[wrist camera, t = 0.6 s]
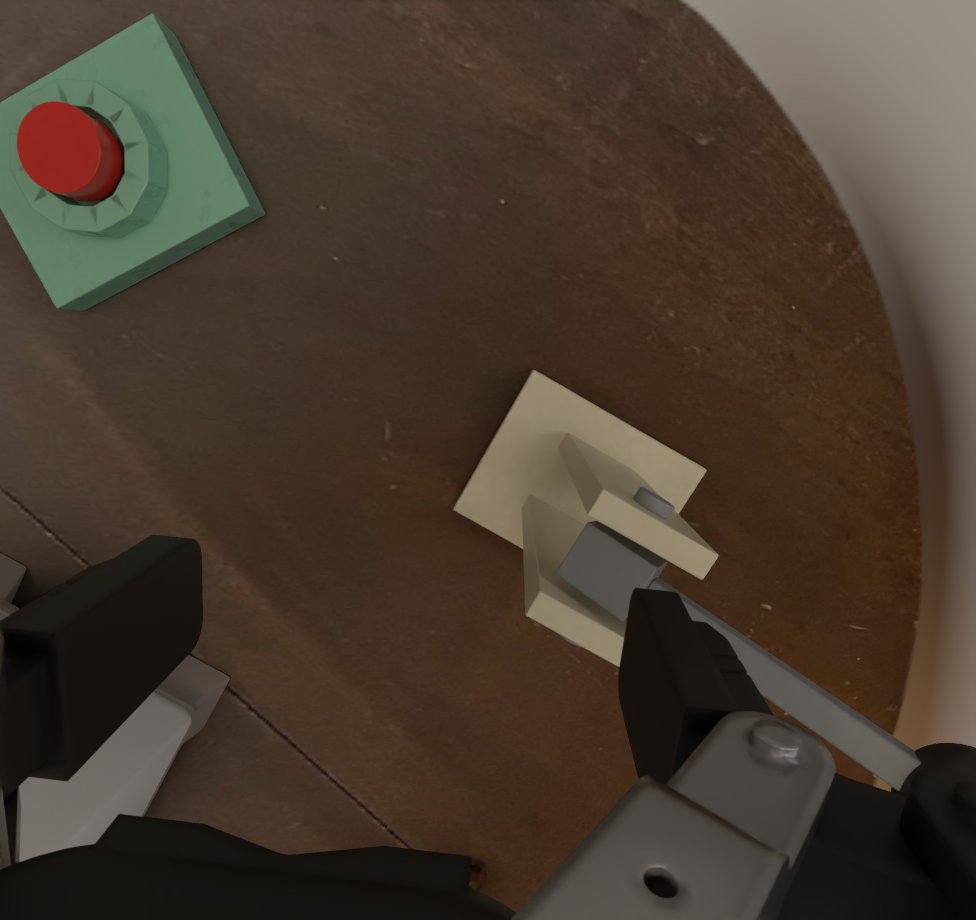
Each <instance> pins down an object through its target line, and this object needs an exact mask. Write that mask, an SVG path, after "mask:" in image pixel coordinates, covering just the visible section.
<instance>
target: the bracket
mask: <svg viewBox="0 0 976 920" xmlns="http://www.w3.org/2000/svg"><path fill="white" fill-rule="evenodd" d="M706 471H707V470H706V469H705V468H703V467H702V466H700V465H698V464H697V463H695V462H693V461H691V460H690V459H688V458H686V457H685V456H683V455H681V454H679V453H678V452H676V451H674V450H672V449H671V448H669V447H667V446H665V445H664V444H662V443H660V442H659V441H657V440H655V439H653V438H652V437H650V436H648V435H646V434H645V433H643V432H641V431H640V430H638V429H636V428H634V427H633V426H631V425H629V424H627V423H626V422H624V421H622V420H621V419H619V418H617V417H615V416H614V415H612V414H610V413H608V412H607V411H605V410H603V409H601V408H600V407H598V406H596V405H595V404H593V403H591V402H589V401H588V400H586V399H584V398H582V397H581V396H579V395H577V394H576V393H574V392H572V391H570V390H569V389H567V388H565V387H563V386H562V385H560V384H558V383H557V382H555V381H553V380H551V379H550V378H548V377H546V376H544V375H543V374H541V373H539V372H537V371H536V370H534V369H533V370H532V371H531V373H530V375H529V377H528V378H527V380H526V382H525V383H524V385H523V387H522V389H521V390H520V392H519V394H518V396H517V397H516V399H515V401H514V403H513V404H512V406H511V408H510V410H509V411H508V413H507V415H506V416H505V418H504V420H503V422H502V423H501V425H500V427H499V429H498V430H497V432H496V434H495V436H494V437H493V439H492V441H491V442H490V444H489V446H488V448H487V449H486V451H485V453H484V455H483V456H482V458H481V460H480V462H479V463H478V465H477V467H476V469H475V470H474V472H473V474H472V475H471V477H470V479H469V481H468V482H467V484H466V486H465V488H464V489H463V491H462V493H461V495H460V496H459V498H458V500H457V501H456V503H455V506H454V508H453V510H454V511H456V512H458V513H460V514H462V515H463V516H465V517H467V518H469V519H470V520H472V521H474V522H476V523H478V524H479V525H481V526H483V527H485V528H486V529H488V530H490V531H492V532H494V533H495V534H497V535H499V536H501V537H502V538H504V539H506V540H508V541H510V542H511V543H513V544H515V545H517V546H519V547H520V548H522V549H523V559H524V588H525V614H526V616H528V617H530V618H532V619H533V620H535V621H537V622H539V623H541V624H542V625H544V626H546V627H548V628H550V629H551V630H553V631H555V632H557V633H558V634H559V635H560V636H561V637H563V638H564V639H565V640H567V641H568V642H570V643H571V644H573V645H576V646H578V647H584V648H586V649H587V650H589V651H591V652H593V653H595V654H596V655H598V656H600V657H602V658H604V659H605V660H607V661H609V662H611V663H613V664H614V665H616V666H618V667H620V660H621V654H622V648H623V642H624V635H625V629H626V623H627V618H626V619H625V620H624V621H621V620H619V619H618V618H616V617H615V616H614V615H612V614H611V613H610V612H608V611H607V610H605V609H604V608H603V607H601V606H600V605H599V604H597V603H596V602H594V601H593V600H592V599H590V598H589V597H587V596H586V595H585V594H583V593H582V592H581V591H579V590H578V589H576V588H575V587H574V586H572V585H571V584H570V583H568V582H567V581H565V580H564V579H563V578H561V577H560V576H558V575H557V573H556V572H557V570H558V568H559V567H560V565H561V564H562V562H563V560H564V559H565V557H566V556H567V554H568V552H569V551H570V549H571V548H572V546H573V544H574V543H575V541H576V539H577V538H578V536H579V535H580V533H581V531H582V530H583V528H584V527H585V525H586V523H587V522H592V521H599V522H601V523H602V524H604V525H606V526H608V527H609V528H611V529H613V530H615V531H616V532H618V533H620V534H622V535H623V536H625V537H627V538H629V539H631V540H632V541H634V542H636V543H638V544H639V545H641V546H643V547H645V548H646V549H648V550H650V551H652V552H653V553H655V554H657V555H659V556H660V557H662V558H664V559H666V560H667V561H669V562H671V563H673V564H675V565H676V566H678V567H680V568H682V569H683V570H685V571H687V572H689V573H690V574H692V575H694V576H696V577H697V578H699V579H701V580H703V579H704V577H705V576H706V574H707V573H708V571H709V570H710V568H711V567H712V565H713V564H714V562H715V561H716V559H717V558H718V556H719V555H718V554H717V553H716V552H715V551H714V550H713V549H712V548H711V547H710V546H709V545H708V544H707V543H706V542H705V541H704V540H703V539H702V538H701V537H700V536H699V535H698V534H697V533H696V532H695V531H694V530H693V529H692V528H691V527H690V526H689V525H688V524H687V523H686V522H685V521H684V520H683V519H682V518H681V517H680V515H679V513H680V511H681V509H682V508H683V506H684V505H685V503H686V502H687V500H688V499H689V497H690V496H691V494H692V493H693V491H694V489H695V488H696V486H697V485H698V483H699V482H700V480H701V479H702V477H703V476H704V474H705V473H706Z"/></svg>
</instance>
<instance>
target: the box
mask: <svg viewBox="0 0 976 920" xmlns="http://www.w3.org/2000/svg"><path fill="white" fill-rule="evenodd" d="M51 101H58V102H64V103H68V104H70V105H73V106H75V107H76V108H78V109H80V110H82V111H84V112H85V113H87V114H89V115H91V116H93V117H95V118H96V119H98V120H100V121H101V122H103V123H104V124H105V125H107V126H108V127H109V129H110V130H111V131H112V132H113V133H114V135H115V136H116V138H117V140H118V142H119V144H120V147H121V150H122V155H123V169H122V174H121V177H120V180H119V182H118V184H117V185H116V187H115V188H114V189H113V191H112V192H110V193H109V194H108V195H107V196H105V197H103V198H101V199H99V200H95V201H78V200H75V199H72V198H69V197H66V196H63V195H60V194H57V193H54V192H51V191H49V190H46V189H44V188H43V187H41V186H39V185H38V184H37V183H35V182H34V181H33V180H32V179H31V178H30V176H29V175H28V174H27V173H26V171H25V169H24V168H23V166H22V164H21V161H20V159H19V155H18V151H17V134H18V130H19V127H20V124H21V122H22V120H23V118H24V117H25V116H26V114H27V113H28V112H29V111H30V110H31V109H33V108H34V107H36V106H37V105H39V104H42V103H45V102H51ZM0 209H1V211H2V212H3V214H4V216H5V218H6V219H7V221H8V223H9V225H10V227H11V228H12V230H13V232H14V234H15V235H16V237H17V239H18V241H19V243H20V244H21V246H22V248H23V250H24V251H25V253H26V255H27V257H28V259H29V260H30V262H31V264H32V266H33V267H34V269H35V271H36V273H37V275H38V276H39V278H40V280H41V282H42V283H43V285H44V287H45V289H46V291H47V292H48V294H49V296H50V298H51V300H52V301H53V303H54V305H55V307H56V308H57V309H66V310H77V311H85V310H87V309H89V308H91V307H92V306H94V305H96V304H98V303H100V302H102V301H104V300H106V299H108V298H109V297H111V296H113V295H115V294H117V293H119V292H121V291H123V290H124V289H126V288H128V287H130V286H132V285H134V284H136V283H138V282H139V281H141V280H143V279H145V278H147V277H149V276H151V275H153V274H155V273H156V272H158V271H160V270H162V269H164V268H166V267H168V266H170V265H171V264H173V263H175V262H177V261H179V260H181V259H183V258H185V257H186V256H188V255H190V254H192V253H194V252H196V251H198V250H200V249H202V248H203V247H205V246H207V245H209V244H211V243H213V242H215V241H217V240H218V239H220V238H222V237H224V236H226V235H228V234H230V233H232V232H234V231H235V230H237V229H239V228H241V227H243V226H245V225H247V224H249V223H250V222H252V221H254V220H256V219H258V218H260V217H262V216H264V215H265V212H264V210H263V208H262V206H261V204H260V202H259V200H258V198H257V196H256V194H255V192H254V190H253V188H252V186H251V184H250V182H249V180H248V178H247V176H246V174H245V172H244V170H243V168H242V166H241V164H240V162H239V160H238V158H237V156H236V154H235V152H234V150H233V148H232V146H231V144H230V142H229V140H228V138H227V136H226V134H225V132H224V130H223V128H222V126H221V124H220V122H219V120H218V118H217V116H216V114H215V112H214V110H213V108H212V106H211V104H210V102H209V100H208V98H207V96H206V94H205V92H204V90H203V88H202V86H201V84H200V82H199V80H198V78H197V76H196V74H195V72H194V70H193V68H192V66H191V64H190V63H189V61H188V59H187V57H186V55H185V53H184V51H183V49H182V47H181V45H180V43H179V41H178V39H177V37H176V35H175V34H174V33H173V32H172V31H171V30H170V29H169V28H167V27H166V26H165V25H164V24H163V23H162V22H161V21H160V20H159V19H158V18H157V17H156V16H154V15H153V14H150V15H149V16H147V17H145V18H144V19H142V20H140V21H138V22H137V23H135V24H133V25H132V26H130V27H128V28H127V29H125V30H123V31H121V32H120V33H118V34H116V35H115V36H113V37H111V38H109V39H108V40H106V41H104V42H103V43H101V44H99V45H98V46H96V47H94V48H92V49H91V50H89V51H87V52H86V53H84V54H82V55H80V56H79V57H77V58H75V59H74V60H72V61H70V62H69V63H67V64H65V65H63V66H62V67H60V68H58V69H57V70H55V71H53V72H51V73H50V74H48V75H46V76H45V77H43V78H41V79H40V80H38V81H36V82H34V83H33V84H31V85H29V86H28V87H26V88H24V89H23V90H21V91H19V92H17V93H16V94H14V95H12V96H11V97H9V98H7V99H5V100H4V101H2V102H0Z"/></svg>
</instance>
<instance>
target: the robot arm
mask: <svg viewBox="0 0 976 920" xmlns="http://www.w3.org/2000/svg"><path fill="white" fill-rule="evenodd" d="M202 622H203V600H202V555H201V548H200V545H199V543H198V542H197V541H196V540H195V539H188V538H178V537H169V536H160V535H151V536H149V537H148V538H146V539H144V540H143V541H141V542H140V543H138V544H136V545H135V546H133V547H131V548H130V549H128V550H127V551H125V552H123V553H122V554H120V555H119V556H117V557H115V558H114V559H112V560H109V561H106V562H103V563H100V564H97V565H94V566H91V567H88V568H87V569H85V570H83V571H82V572H80V573H78V574H77V575H75V576H73V577H72V578H70V579H68V580H67V581H66V583H65V584H60V585H59V586H57V587H55V588H54V589H52V590H50V591H49V592H47V595H46V596H45V595H42V596H40V597H39V598H37V599H35V600H34V601H32V602H30V603H29V604H27V605H25V606H24V607H22V608H21V609H19V610H17V611H16V612H14V613H12V614H11V615H9V616H7V617H6V618H4V619H2V620H1V621H0V920H976V777H975V776H973V775H970V774H966V773H963V772H959V771H955V770H950V769H943V768H928V769H923V770H920V771H918V772H917V773H916V774H915V775H914V776H913V778H912V781H911V784H910V787H909V791H908V794H907V797H905V796H902V795H898V794H895V793H892V792H889V791H886V790H883V789H879V788H876V787H873V786H870V785H867V784H864V783H861V782H858V781H855V780H852V779H849V778H847V777H844V776H842V775H840V774H837V773H835V770H836V769H835V762H834V760H833V757H832V755H831V754H830V752H829V751H828V749H827V748H826V747H825V746H824V745H823V744H822V743H821V742H820V741H819V740H818V739H817V738H816V737H814V736H813V735H811V734H810V733H809V732H807V731H806V730H804V729H802V728H801V727H799V726H797V725H795V724H793V723H791V722H789V721H787V720H784V719H782V718H779V717H776V716H774V715H773V713H772V712H771V710H770V708H769V707H768V705H767V703H766V702H765V700H764V698H763V697H762V695H761V694H760V692H759V690H758V689H757V687H756V685H755V684H754V682H753V680H752V679H751V677H750V675H747V670H746V669H745V667H744V666H743V664H742V662H741V661H740V660H738V656H737V654H736V652H735V651H734V649H733V647H732V646H731V644H730V643H729V641H728V639H727V638H726V637H724V636H723V635H722V634H721V633H719V632H718V631H717V630H715V629H714V628H713V627H712V626H710V625H709V624H708V623H706V622H700V621H693V620H692V618H691V617H690V615H689V613H688V611H687V609H686V607H685V605H684V603H683V602H682V600H681V598H680V596H679V594H678V593H677V592H672V591H663V590H654V589H645V588H634V590H633V592H632V595H631V599H630V604H629V610H628V617H627V623H626V629H625V635H624V642H623V648H622V654H621V660H620V667H619V699H620V704H621V709H622V713H623V717H624V721H625V725H626V729H627V733H628V737H629V742H630V746H631V750H632V754H633V758H634V762H635V766H636V770H637V775H638V779H639V780H638V781H637V782H636V783H635V784H634V785H633V786H632V787H631V788H630V790H629V791H628V792H627V793H626V794H625V795H624V796H623V797H622V798H621V799H620V801H619V802H618V803H617V804H616V805H615V806H614V807H613V808H612V809H611V810H610V811H609V813H608V814H607V815H606V816H605V817H604V818H603V819H602V820H601V821H600V822H599V823H598V825H597V826H596V827H595V828H594V829H593V830H592V831H591V832H590V833H589V834H588V835H587V837H586V838H585V839H584V840H583V841H582V842H581V843H580V844H579V845H578V846H577V847H576V849H575V850H574V851H573V852H572V853H571V854H570V855H569V856H568V857H567V858H566V859H565V861H564V862H563V863H562V864H561V865H560V866H559V867H558V868H557V869H556V870H555V871H554V873H553V874H552V875H551V876H550V877H549V878H548V879H547V880H546V881H545V882H544V884H543V885H542V886H541V887H540V888H539V889H538V890H537V891H536V892H535V893H534V894H533V896H532V897H531V898H530V899H529V900H528V901H527V902H526V903H525V904H524V905H523V906H522V908H521V909H520V910H519V911H518V912H517V913H516V912H514V911H513V910H511V909H510V908H508V907H507V906H505V905H503V904H502V903H500V902H498V901H496V900H494V899H492V898H490V897H488V896H486V895H484V894H482V893H480V892H477V891H475V890H472V889H470V888H469V881H470V870H471V859H472V857H471V856H462V855H454V854H446V853H438V852H429V851H421V850H413V849H405V848H396V847H388V846H379V847H368V848H358V849H348V850H338V851H327V852H317V853H307V854H297V855H287V854H281V853H277V852H274V851H272V850H269V849H267V848H264V847H262V846H259V845H256V844H254V843H251V842H249V841H246V840H244V839H241V838H239V837H236V836H233V835H231V834H228V833H226V832H223V831H221V830H218V829H216V828H213V827H210V826H208V825H205V824H199V823H191V822H183V821H174V820H166V819H158V818H150V817H141V816H133V815H125V814H118V816H117V817H116V818H115V819H114V821H113V822H112V823H111V824H110V826H109V827H108V828H107V829H106V831H105V832H104V833H103V834H102V836H101V837H100V838H99V839H98V841H97V842H96V843H95V844H90V845H83V846H77V847H72V848H67V849H61V850H58V851H54V852H50V853H46V854H43V855H39V856H36V857H33V858H30V859H27V860H24V861H21V862H19V859H20V830H21V798H20V789H19V786H20V785H21V784H22V783H23V782H24V781H25V780H26V779H27V778H28V777H34V778H42V779H50V780H59V781H67V782H68V781H69V780H70V779H71V777H72V776H73V775H74V774H75V773H76V772H77V771H78V770H79V769H80V768H81V767H82V766H83V765H84V764H85V763H86V762H87V761H88V760H89V759H90V758H91V757H92V755H93V754H94V753H95V752H96V751H97V750H98V749H99V748H100V747H101V746H102V745H103V744H104V743H105V742H106V741H107V740H108V739H109V738H110V737H111V736H112V735H113V733H114V732H115V731H116V730H117V729H118V728H119V727H120V726H121V725H122V724H123V723H124V722H125V721H126V720H127V719H128V718H129V717H130V716H131V715H132V714H133V713H134V711H135V710H136V709H137V708H138V707H139V706H140V705H141V704H142V703H143V702H144V701H145V700H146V699H147V698H148V697H149V696H150V695H151V694H152V693H153V692H154V691H155V689H156V688H157V687H158V686H159V685H160V684H161V683H162V682H163V681H164V680H165V679H166V678H167V677H168V676H169V675H170V674H171V673H172V672H173V671H174V670H175V669H176V667H177V666H178V665H179V664H180V663H181V662H182V661H183V660H184V659H185V658H186V657H187V656H188V655H189V654H190V653H191V652H192V650H193V649H194V647H195V645H196V643H197V641H198V639H199V636H200V632H201V628H202Z"/></svg>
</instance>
